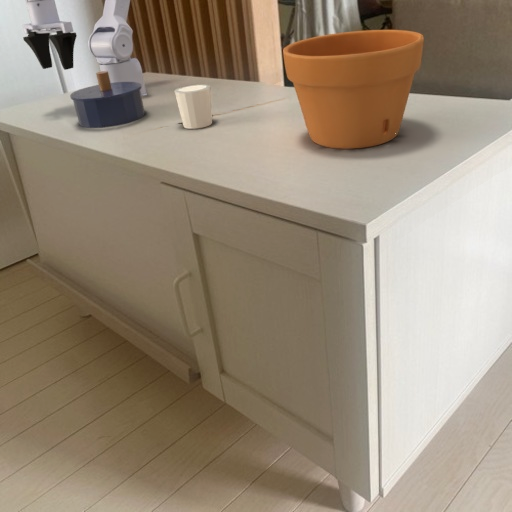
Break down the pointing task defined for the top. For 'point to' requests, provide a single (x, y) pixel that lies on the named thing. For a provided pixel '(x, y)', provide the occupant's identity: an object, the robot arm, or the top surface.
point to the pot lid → (105, 89)
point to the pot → (110, 111)
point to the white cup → (195, 105)
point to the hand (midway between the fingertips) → (58, 68)
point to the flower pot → (354, 84)
